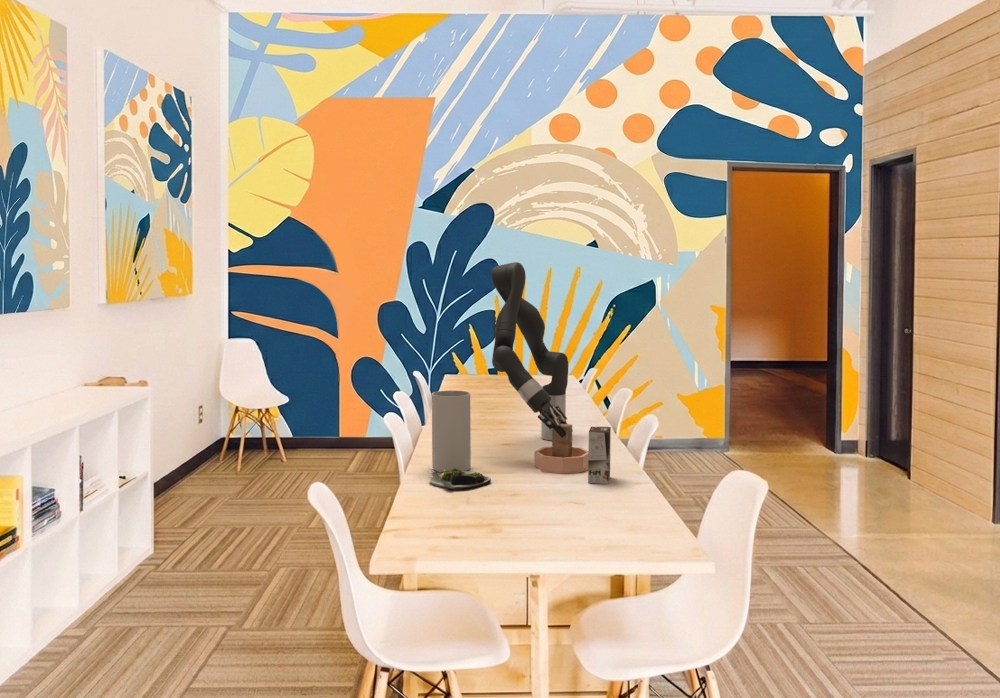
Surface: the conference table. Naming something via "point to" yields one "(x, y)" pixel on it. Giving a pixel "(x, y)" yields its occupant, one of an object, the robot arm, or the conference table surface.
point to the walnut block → (562, 442)
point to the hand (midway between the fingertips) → (567, 434)
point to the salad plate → (459, 480)
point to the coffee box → (599, 455)
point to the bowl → (561, 461)
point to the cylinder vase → (451, 430)
